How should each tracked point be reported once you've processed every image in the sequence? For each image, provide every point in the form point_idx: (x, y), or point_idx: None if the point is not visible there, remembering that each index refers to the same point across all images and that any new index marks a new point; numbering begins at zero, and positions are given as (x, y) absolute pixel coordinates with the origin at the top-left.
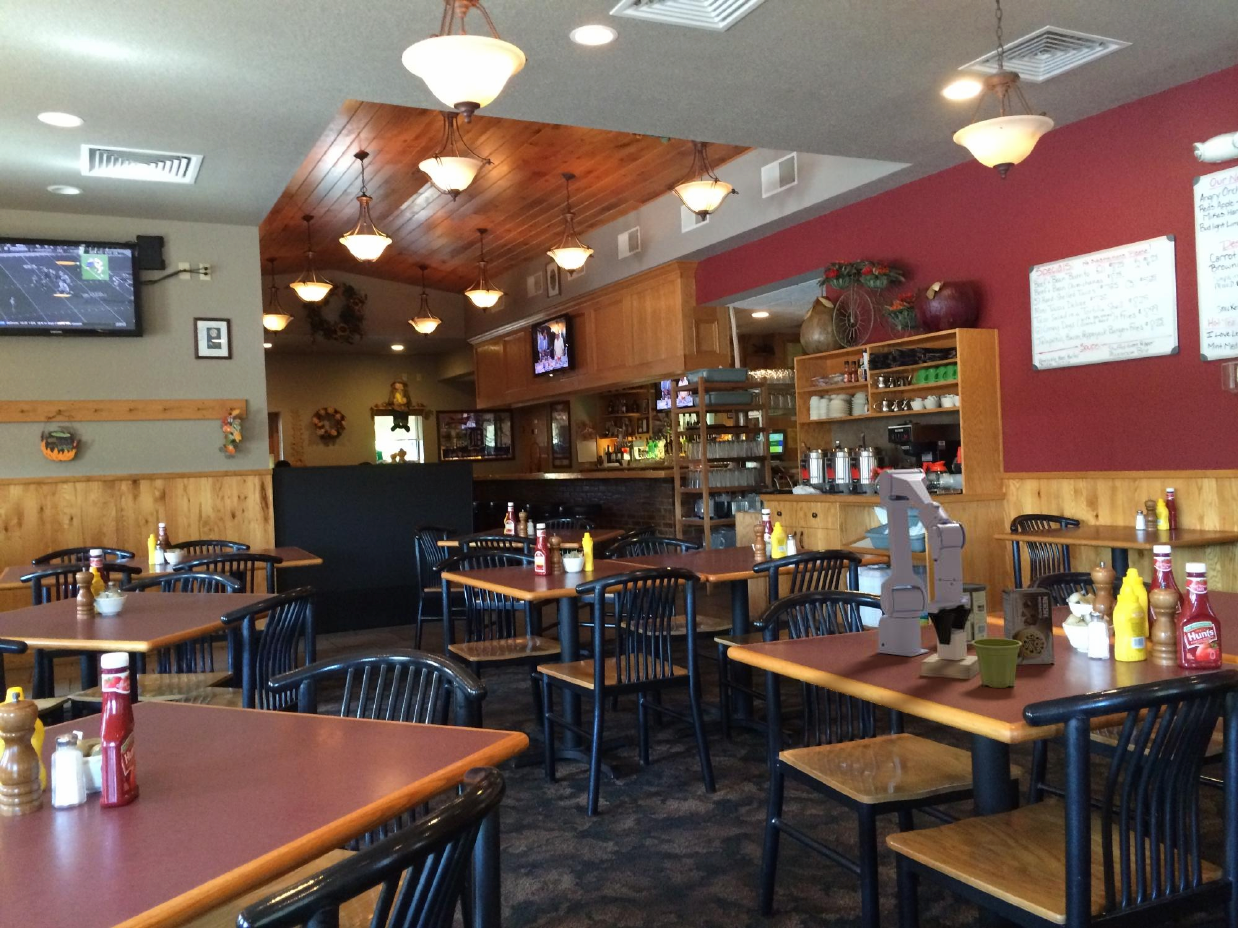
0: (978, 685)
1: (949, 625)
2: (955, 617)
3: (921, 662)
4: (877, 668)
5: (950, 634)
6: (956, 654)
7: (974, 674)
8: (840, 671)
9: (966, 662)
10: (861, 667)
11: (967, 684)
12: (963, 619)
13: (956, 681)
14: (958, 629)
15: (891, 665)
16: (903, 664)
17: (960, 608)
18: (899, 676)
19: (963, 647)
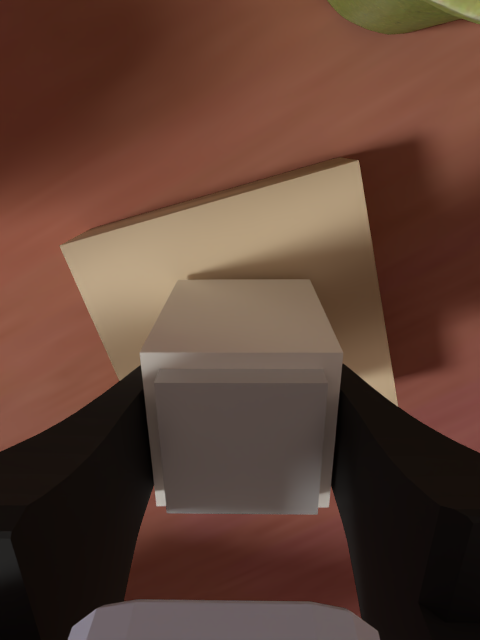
0: (475, 23)
1: (431, 439)
2: (104, 552)
3: None
4: (341, 558)
5: (353, 392)
6: (312, 290)
7: (241, 185)
8: None
9: (292, 218)
10: (356, 599)
11: (476, 95)
12: (95, 457)
13: (427, 188)
14: (187, 413)
15: (257, 550)
16: (211, 531)
17: (23, 632)
18: None
19: (212, 302)
